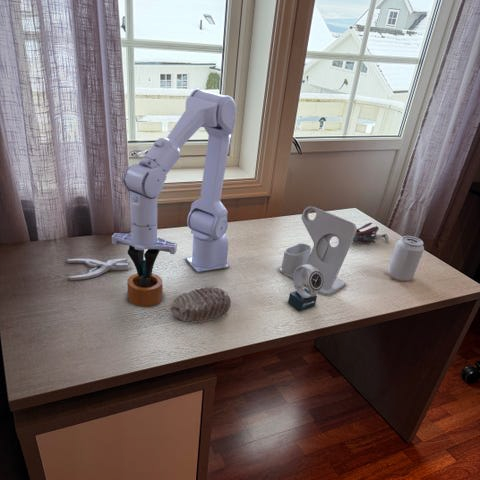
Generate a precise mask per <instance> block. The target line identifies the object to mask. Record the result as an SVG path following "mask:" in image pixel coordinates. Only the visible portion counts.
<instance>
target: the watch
mask: <svg viewBox="0 0 480 480" xmlns="http://www.w3.org/2000/svg"><path fill="white" fill-rule="evenodd" d="M302 268H305V269H306V270H307V271H306V274H307V277H306V285H307V286H306V285H305V286H306V287H304V284H303V283H302V275H301V269H302ZM323 279H324V278H323V276H322V274H321V273H320V272H319V271H318V270H317V268H315V267H314V266H312V265H310V264H305V265H302V266H299V267H297V268H296V269H295V271H294V275H293V285H294V286H293V287H294V289H295V291H292V292H289V295H288V300H287V304H288V305H289V306H290V307H292V308H293V309H295V310H296V311H297V312H298V313H301V312H303V311H306V310H308V309H311V308H314V307H315V306H316V303H317V299H318V294H320V293H319V291H320V290H321V288H322V286H323Z"/></svg>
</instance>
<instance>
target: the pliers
mask: <svg viewBox="0 0 480 480" xmlns="http://www.w3.org/2000/svg"><path fill="white" fill-rule="evenodd" d="M66 260H67V264H86V265H87V266H89V267H91V269H90V270H89V271H88V272H87V273H83V274H77V275H69V276H68V279H69V281H79V280H87V279H92V278H95V277H98V276H100V275H102V274H104V273H107V272H108V271H126V270H127V271H128V270H129V263H128V258H126V257H124V258H112V259H107V262H106V261H101V260H99V259H93V258H84V257H83V258H69V259H66ZM98 267H100V268H98Z"/></svg>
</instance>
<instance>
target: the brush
mask: <svg viewBox="0 0 480 480" xmlns="http://www.w3.org/2000/svg"><path fill="white" fill-rule="evenodd" d="M139 281H140V287H143V288H148V287H151V277H150V278H146V261H145V259H144V260H143V261H142V276H141V277H139Z"/></svg>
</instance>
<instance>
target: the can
mask: <svg viewBox="0 0 480 480" xmlns="http://www.w3.org/2000/svg"><path fill="white" fill-rule="evenodd" d="M424 245H425V244H424V241H423V240H422V239H421V238H418V237H416V236H414V235H403V236H401V238H400V239H399V240H397V242H396V244H395V248H394V251H393V254H392V256H391V259H390V262H389V266H388V268H387V274H388V275H389V276H390V277H391V279H394V280H395V281H397V282H408V281H411V280H413V278H414V276H415V275H416V271H417V268H418V266H419V263H420V261H421V258H422V256H423V252H424V251H425V246H424Z"/></svg>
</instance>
